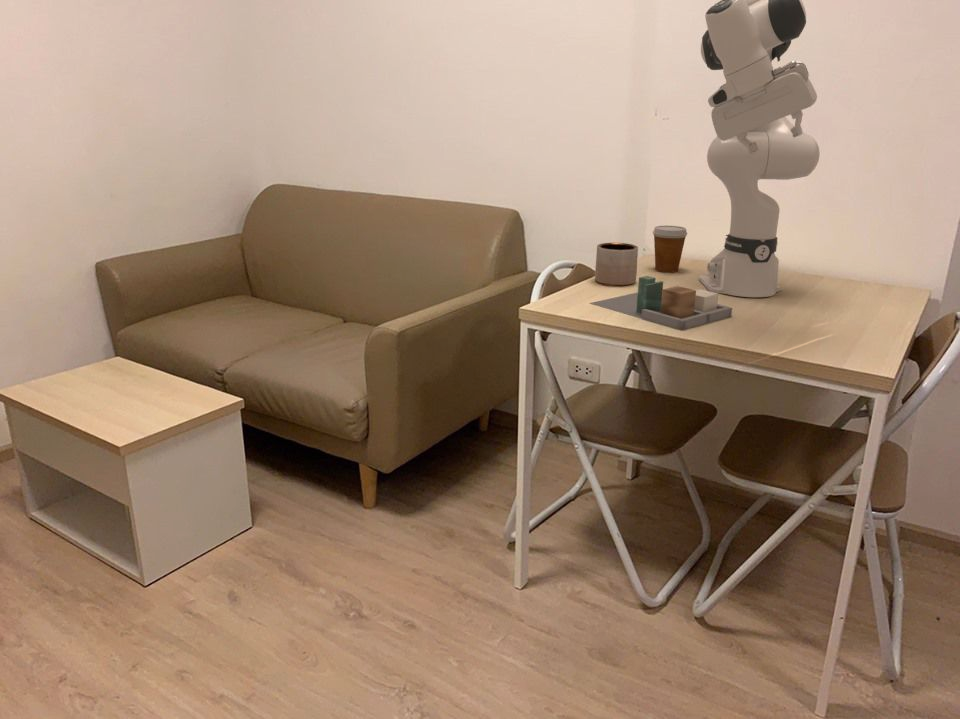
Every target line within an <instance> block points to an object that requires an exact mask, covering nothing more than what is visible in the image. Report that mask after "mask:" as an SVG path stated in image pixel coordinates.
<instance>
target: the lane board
mask: <svg viewBox="0 0 960 719" xmlns="http://www.w3.org/2000/svg"><path fill="white" fill-rule="evenodd" d="M637 296H638V292H633V293H629V294H625V295H620V296H616V297H612V298H610V297H609V298H607V299H602V300H598V301H593V302H589V303H588V304H590V305H593V306H595V307H596V306H597V307H600V308H603V309H606V310H610V311H614V312H616V313H617V312H618V313H619V314H620V313H621V314H624V315H627V316H631V317H634V318H638V319H641V320H644V321H648V322H651V323H654V324H659V325H661V326H665V327H669V328H672V329H676V330H678V331H684V330H688V329H692V328H695V327H699V326H703V325H707V324H709V323H714V322H717V321H720V320H725V319H728V318H732V313H733V307H731V306H728V305H723V304H719V303H717V310H713V311H709V312H701V311H698V310H694V316H690V317H687V318H683V319H680V318H677V317H673V316H670V315H666V314H662V313H659V312H655V311H652V310H648V309H643V310H642V313H639V312H636V309H637ZM661 303H662V302H661Z"/></svg>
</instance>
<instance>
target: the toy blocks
mask: <svg viewBox="0 0 960 719" xmlns="http://www.w3.org/2000/svg"><path fill="white" fill-rule="evenodd" d="M637 284H638V285H637V293H638V296H637V309H636V312H639V313H642V310H643V309H648V310H652V311H655V312H659V313H662V314H666V315H670V316H673V317H677V318H680V319H683V318H687V317H690V316H694V306H695V296H696V290H697V289H691V288H687V287H683V286H679V285H677V286H672V287H667V288H664V281H661V280H660V281H656V277H653V276H648V275H644V276H639V277H638V283H637ZM661 302H662V303H661Z"/></svg>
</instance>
